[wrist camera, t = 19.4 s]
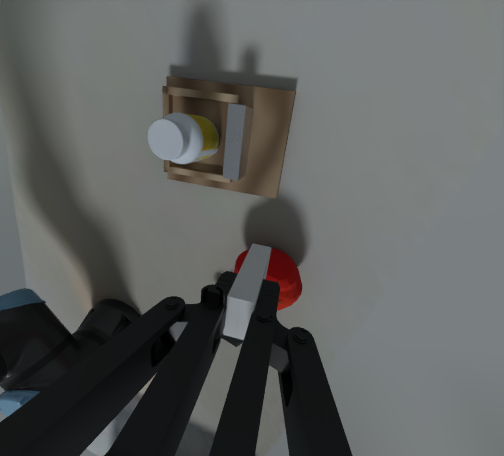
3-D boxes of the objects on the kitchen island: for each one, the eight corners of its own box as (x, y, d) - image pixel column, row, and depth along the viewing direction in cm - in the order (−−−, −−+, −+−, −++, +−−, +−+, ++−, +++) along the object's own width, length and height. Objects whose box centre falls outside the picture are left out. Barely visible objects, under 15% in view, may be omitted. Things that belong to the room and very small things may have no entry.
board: (171, 177, 44) (164, 180, 41) (171, 78, 38) (162, 74, 35) (277, 196, 41) (275, 200, 39) (295, 92, 35) (294, 89, 32)
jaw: (231, 173, 40) (222, 177, 35) (238, 107, 36) (228, 103, 31) (245, 175, 39) (237, 180, 35) (253, 109, 35) (245, 105, 31)
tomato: (254, 227, 44) (240, 252, 35) (313, 259, 44) (316, 293, 35) (230, 270, 49) (213, 302, 40) (284, 299, 49) (279, 338, 39)
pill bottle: (207, 107, 37) (168, 97, 26) (229, 145, 38) (200, 150, 28) (177, 130, 39) (130, 129, 28) (198, 165, 40) (161, 176, 30)
